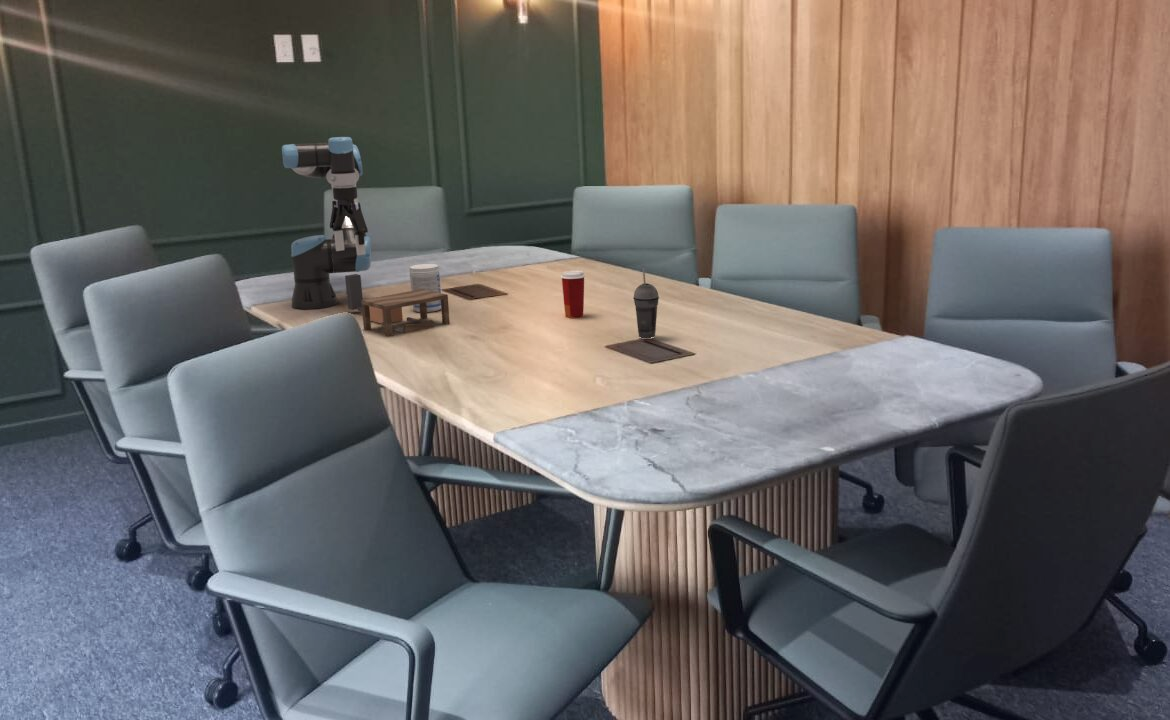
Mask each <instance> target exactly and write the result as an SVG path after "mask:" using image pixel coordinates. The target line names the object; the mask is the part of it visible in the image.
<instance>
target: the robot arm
mask: <svg viewBox="0 0 1170 720" xmlns="http://www.w3.org/2000/svg"><path fill="white" fill-rule="evenodd" d="M327 141H328V142H317V143H316V142H315V143H297V144H296V143H291V144H290V143H289V144H283V145H282V146H281V154H282V164H283V168H285V169H292V171H294V172H295V173H296V174H297V175H299V176H303V177H307V178H313V179H322V178H323V179H326V181H327V182H328V184H330V185H331V195H332V201H331V202H332V203H331V204H332V208H331V215H330V222H329V228H330V229H332V230H333V234H332V236H331V237H332V238H330V239H327V236H326V235H324V234H320V235H318V234H316V235H312V236H306V237H302V238H299V239H296V240H294V241H293V242H292V243H291V246H290V247H291V251H290V252H291V254H290V256H291V258H292V267H293V268H292V269H293V270H292V271H293V279H294V288H293V291H292V296H291V301H290V302H291V307H292V308H293V309H297V310H298V309H299V310H313V309H324V308H329V307H333V306H336V305H337V304H338V298H337V295H336V292H335V291H334V287H333V286H332V283H331V280H330V274H341V273H343V274H344V273H353V272H354V273H358V272H363V271H368V270H370V268H371V267H372V266H371V264H372V238H371V237H370V236H368V235H367V234H366V233H368V232H369V230H368V227H367V224H366V221H365V217H364V215H363V214H364V213H363V211H362V208H361V203H360V202H359V200H358V187H357V182H358V181H359V179H360V176H363V173H364V172H363V163H362V159H361V158H362V157H361V154H360V150H359V148H358V146H357V145H356V144H354V143H353V139H352V138H351V137H350V136H338V137H337V136H335V137H330V138H328V139H327Z"/></svg>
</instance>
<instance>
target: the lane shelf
mask: <svg viewBox="0 0 1170 720" xmlns="http://www.w3.org/2000/svg"><path fill="white" fill-rule="evenodd" d="M448 295H449V294H446V293H442V292H441V293H438V292H434V291H429V290H425V289H420V290H415V291H411V290H410V291H403V292H399V293H393V294H387V295H383V296H377V297H371V298H365V299H363V300H361V303H362V311H361V312H362V322H363V330H364V331H370V330H372V323H371V322H372V321H370V310H369V306H371V307H375V308H379V309H383V315H384V322H382V324H381V327H383V328H384V336H385V337H393V336H394V335H393V333H394V332H393V330H394V331H397V332H400V333H403V334H407V333H413V332H418V331H421V330H425V329H430V328H434V321H433V320H426V319H428V312H427V305H426V303H427V302H432V301H437V300H441V309H440V310H441V321H442V323H441V324H442V325H444V326H445V325H450V323H451V322H450V306H449V296H448ZM416 304H419V306H420V312H419V315H420V319H418V318H415V317H414V318H413V317H410V316H409V317H408V316H407V317H406V322H407V321H408V323H411V324H406V325H403V326H400V325H397V324H393V322H392V321H391V309H395V308H400V307H402V308H404V307H405V308H406V307H409V306H410V307H411V306H413V305H416ZM421 318H422V320H421ZM424 319H425V320H426V321H425V320H424Z"/></svg>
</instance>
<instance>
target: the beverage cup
mask: <svg viewBox="0 0 1170 720" xmlns="http://www.w3.org/2000/svg"><path fill="white" fill-rule="evenodd" d="M645 270H646V269H645V267H642V276H643V278H642V279H643V280H642V281H643V283H641V284H640V285H638V286H637V287H636V288H635V290H634V292H633V298H632V299H633V303H634V306H635V314H636V324H637V332H638V338H639V337H641V338H651V337H654V336H655V337H656V331H657V316H658V305H659V299H660V297H659V292H658V290H657V288H656V287H655V286H654V285H653V284H651V283H648V282H646V272H645Z"/></svg>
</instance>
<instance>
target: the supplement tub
mask: <svg viewBox="0 0 1170 720" xmlns="http://www.w3.org/2000/svg"><path fill="white" fill-rule="evenodd" d="M409 279H410V291H415V290H420V289H425V290H429V291H434V292H438V293H442V290H441V288H442V287H441V279H440V269H439V265H438V264H435V263H424V264H423V263H422V264H414V265H411V266H410V267H409ZM426 305H427V313H431V312H437V311H440V310H441V300H437V301H432V302H427V303H426ZM412 309H413V311H414V312H416V313H420V306H419V304H416V305H412Z"/></svg>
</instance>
